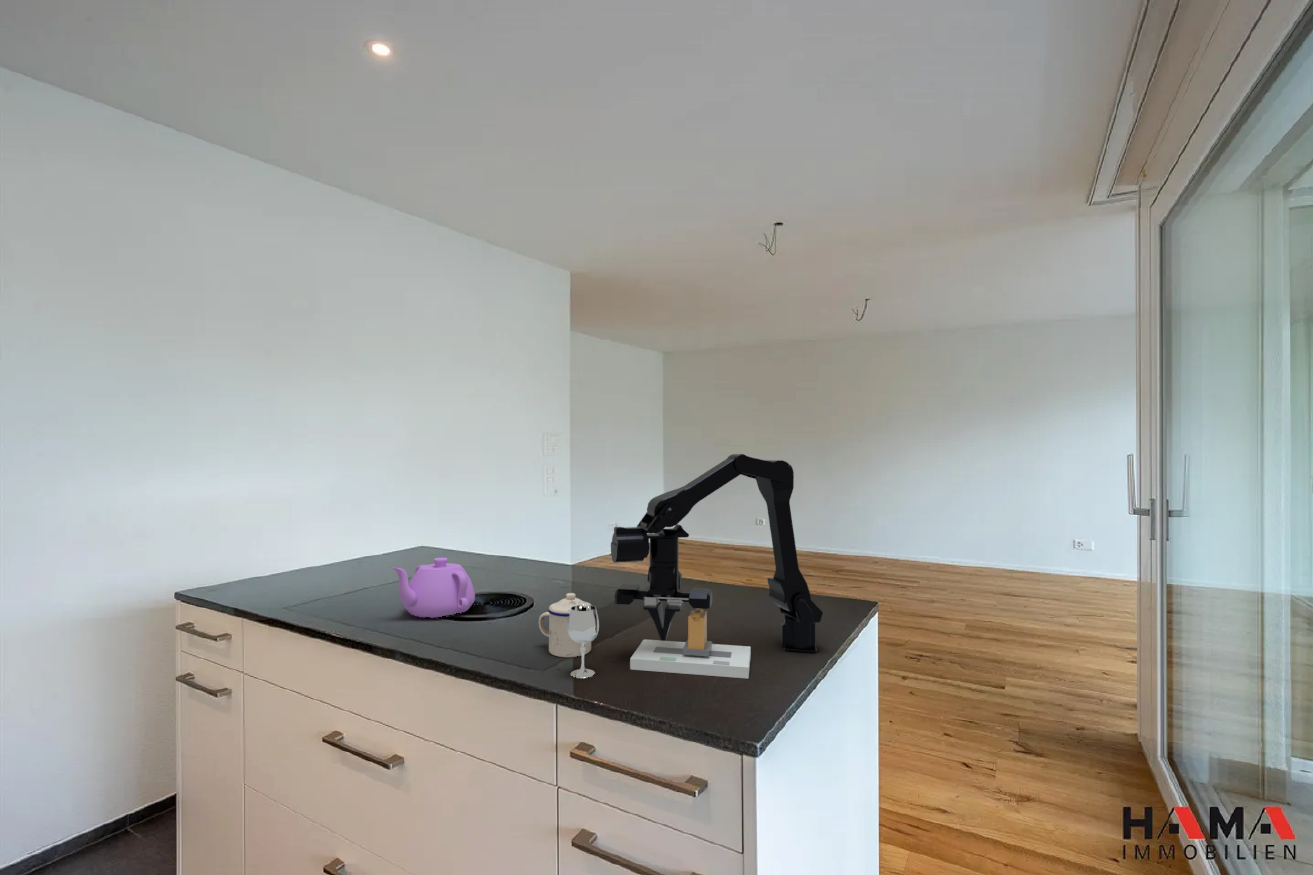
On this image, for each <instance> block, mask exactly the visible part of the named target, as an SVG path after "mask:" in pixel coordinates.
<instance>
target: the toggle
mask: <svg viewBox="0 0 1313 875" xmlns="http://www.w3.org/2000/svg"><path fill="white" fill-rule="evenodd" d="M694 609H695V610H693V609H692V610H691V611H690V613H689V616H687V617H688V618H687V620H688V621H687V625H688V628H687V630H688V631H687V632H688V634H687V639H686V641H685V642H686V643H685V645H684V647H683V655H696V656H709V654H710V651H711V648H712V644H713V641H712V640H711V641H710V640H707V639H708V636H707V634H708V632H707V631H708V626H707V625H708V621H707V620H708V619H707V618H708V611H707V610H704V609H700V608H694Z"/></svg>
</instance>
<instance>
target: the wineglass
mask: <svg viewBox="0 0 1313 875" xmlns="http://www.w3.org/2000/svg"><path fill="white" fill-rule="evenodd" d="M599 629H600V621H599V615H598V611H597V607H596V606H595V605H592V604H591V605H577V606H573V607H571V610H570V614H569V618H568V634H569V637H570V638H571V639H572V640H573V641H575V642H577V643H581V644H582V645H581V647H580V651H581V656H580V657H581V665H580V668H579V669H574V670H573V671H571V672H570V677H572V676H573V678H575V677H576V678H575V679H588V677H589V678H591V677H594V676H595V675H596V672H595V671H594V669H593V670H592V669H589V668H586V667H585V666H586V665H585V655H586V654H585V651H586V646H585V643H588V642H590V641H591V642H593V641H594V640H595V639H596V638H597V636H598V634H599ZM594 674H595V675H594ZM593 675H594V676H593Z"/></svg>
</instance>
